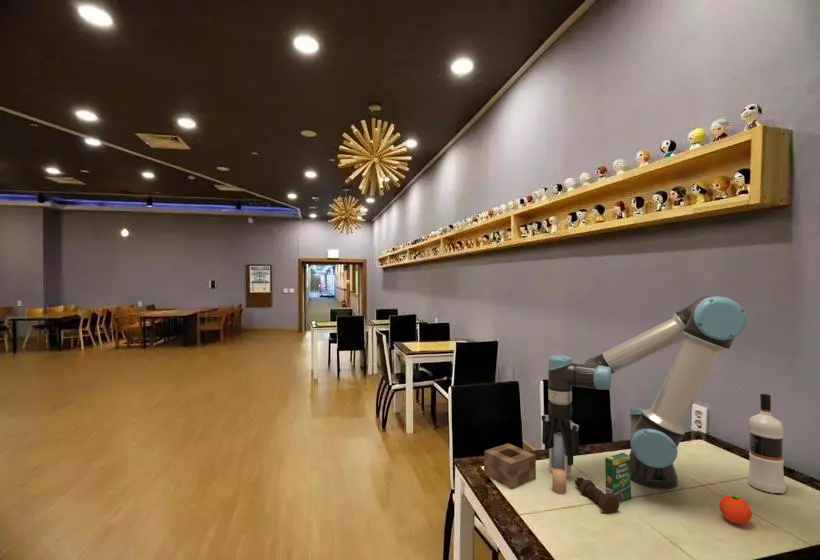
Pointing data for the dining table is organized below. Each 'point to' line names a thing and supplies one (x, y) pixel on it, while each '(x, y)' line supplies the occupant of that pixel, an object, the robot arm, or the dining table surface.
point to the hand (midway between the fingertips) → (560, 470)
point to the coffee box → (618, 476)
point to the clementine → (735, 509)
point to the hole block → (510, 465)
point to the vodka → (766, 450)
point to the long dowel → (559, 451)
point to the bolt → (598, 495)
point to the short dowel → (559, 481)
